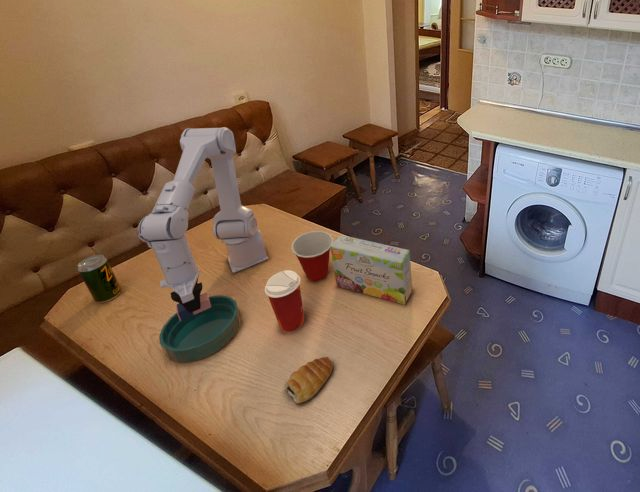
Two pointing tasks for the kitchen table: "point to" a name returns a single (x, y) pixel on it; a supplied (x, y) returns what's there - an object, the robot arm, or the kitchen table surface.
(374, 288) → the snack box
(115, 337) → the kitchen table surface
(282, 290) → the paper cup
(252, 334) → the kitchen table surface
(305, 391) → the pastry
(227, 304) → the bowl
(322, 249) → the plastic cup
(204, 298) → the eraser
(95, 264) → the beer can
